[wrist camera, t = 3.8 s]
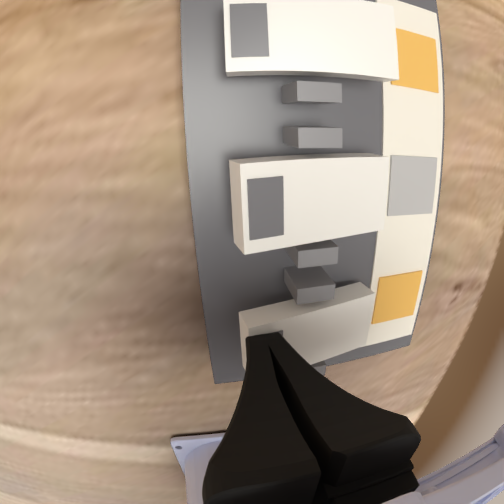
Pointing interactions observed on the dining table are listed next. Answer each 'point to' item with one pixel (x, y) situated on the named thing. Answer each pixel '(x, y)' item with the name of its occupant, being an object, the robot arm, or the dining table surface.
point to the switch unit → (314, 142)
